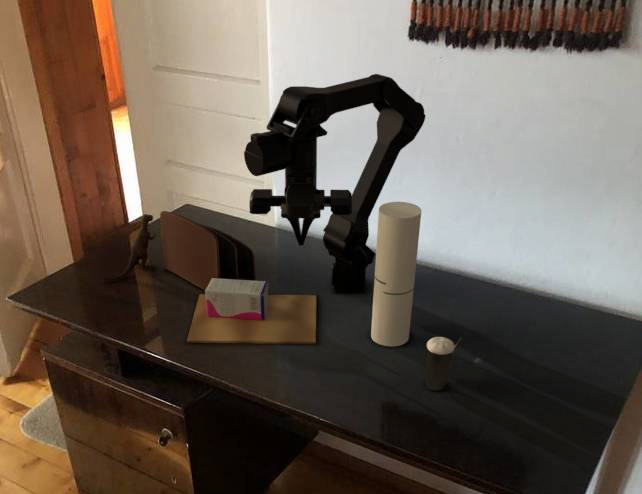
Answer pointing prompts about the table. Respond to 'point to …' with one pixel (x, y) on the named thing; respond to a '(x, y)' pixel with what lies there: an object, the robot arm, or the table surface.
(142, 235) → the dinosaur model
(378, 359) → the table surface
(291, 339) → the desk mat
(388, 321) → the cylindrical container
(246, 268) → the letter holder
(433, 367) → the milkshake
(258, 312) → the supplement box
